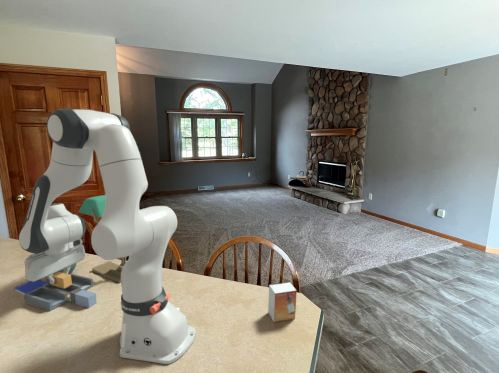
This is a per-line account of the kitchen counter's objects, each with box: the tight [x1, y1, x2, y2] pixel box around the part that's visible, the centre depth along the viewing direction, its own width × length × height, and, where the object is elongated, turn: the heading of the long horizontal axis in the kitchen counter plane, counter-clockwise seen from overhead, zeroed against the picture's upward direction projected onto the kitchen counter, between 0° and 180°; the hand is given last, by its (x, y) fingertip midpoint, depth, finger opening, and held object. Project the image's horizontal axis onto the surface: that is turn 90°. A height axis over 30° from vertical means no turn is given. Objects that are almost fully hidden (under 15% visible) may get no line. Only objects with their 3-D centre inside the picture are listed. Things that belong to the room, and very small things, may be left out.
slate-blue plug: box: [70, 288, 98, 309], centre depth 97 cm, size 9×3×4 cm, turn 70°
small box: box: [267, 282, 298, 323], centre depth 91 cm, size 8×6×10 cm
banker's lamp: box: [78, 194, 127, 284], centre depth 117 cm, size 16×21×35 cm
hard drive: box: [13, 279, 47, 295], centre depth 106 cm, size 2×8×12 cm
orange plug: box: [46, 271, 72, 289], centre depth 102 cm, size 9×3×4 cm, turn 70°
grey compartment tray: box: [23, 272, 94, 312], centre depth 102 cm, size 13×17×3 cm
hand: (59, 280), depth 102 cm, fingers closed on orange plug, 3 cm apart
